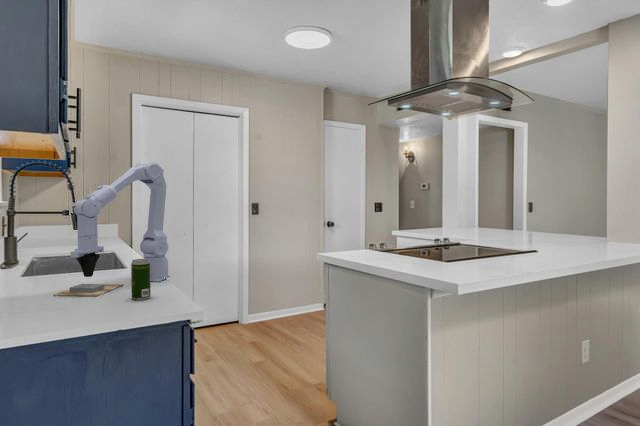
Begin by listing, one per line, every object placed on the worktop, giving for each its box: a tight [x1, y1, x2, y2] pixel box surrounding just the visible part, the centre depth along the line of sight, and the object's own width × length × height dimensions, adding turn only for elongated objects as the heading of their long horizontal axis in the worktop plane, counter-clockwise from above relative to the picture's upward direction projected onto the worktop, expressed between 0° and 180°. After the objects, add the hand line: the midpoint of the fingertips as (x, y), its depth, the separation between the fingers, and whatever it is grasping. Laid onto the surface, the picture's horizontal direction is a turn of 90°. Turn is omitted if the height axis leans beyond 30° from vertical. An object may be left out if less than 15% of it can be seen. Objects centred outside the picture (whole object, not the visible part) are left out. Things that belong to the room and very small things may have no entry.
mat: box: [52, 283, 124, 298], centre depth 135 cm, size 16×14×1 cm
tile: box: [69, 283, 105, 293], centre depth 133 cm, size 2×8×6 cm
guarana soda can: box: [130, 258, 151, 301], centre depth 125 cm, size 5×5×12 cm
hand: (88, 276), depth 134 cm, fingers closed
